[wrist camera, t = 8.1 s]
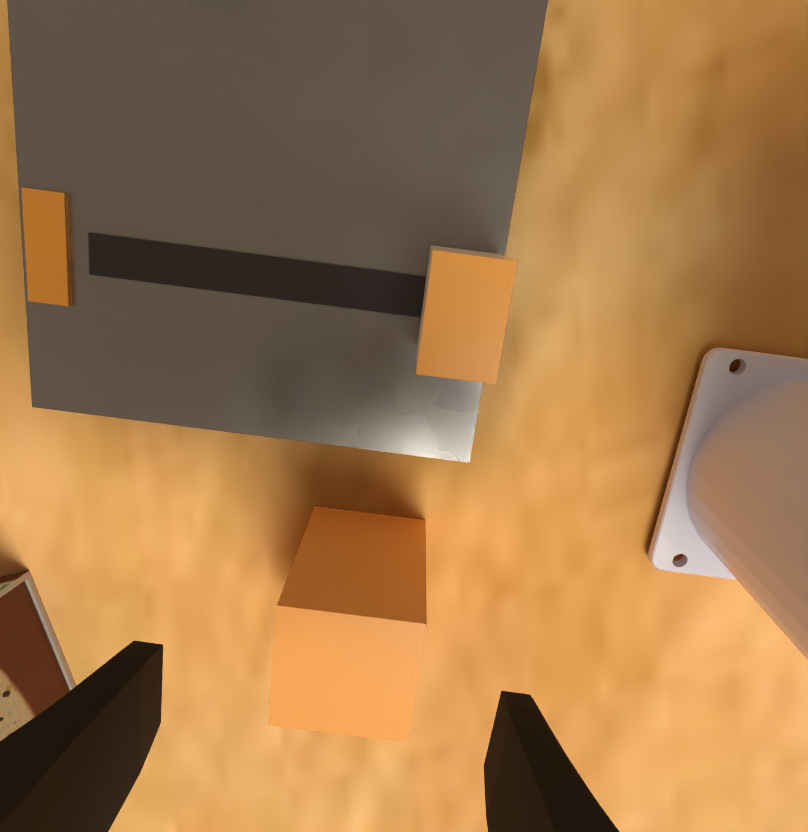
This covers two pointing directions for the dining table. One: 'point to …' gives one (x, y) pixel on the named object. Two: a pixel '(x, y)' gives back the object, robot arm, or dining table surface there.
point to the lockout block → (351, 626)
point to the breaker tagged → (464, 314)
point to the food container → (27, 655)
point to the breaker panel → (261, 205)
